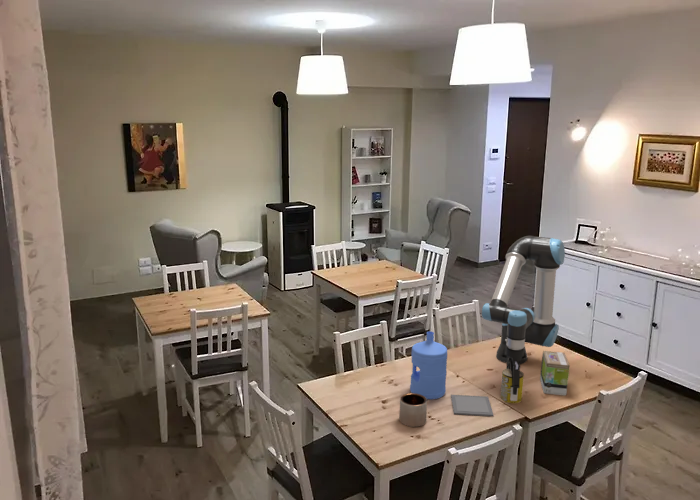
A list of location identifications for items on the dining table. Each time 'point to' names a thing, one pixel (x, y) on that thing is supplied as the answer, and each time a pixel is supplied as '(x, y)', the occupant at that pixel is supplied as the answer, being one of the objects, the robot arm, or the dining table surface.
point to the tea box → (554, 373)
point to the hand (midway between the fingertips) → (511, 394)
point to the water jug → (429, 368)
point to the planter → (413, 410)
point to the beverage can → (506, 385)
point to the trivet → (471, 405)
